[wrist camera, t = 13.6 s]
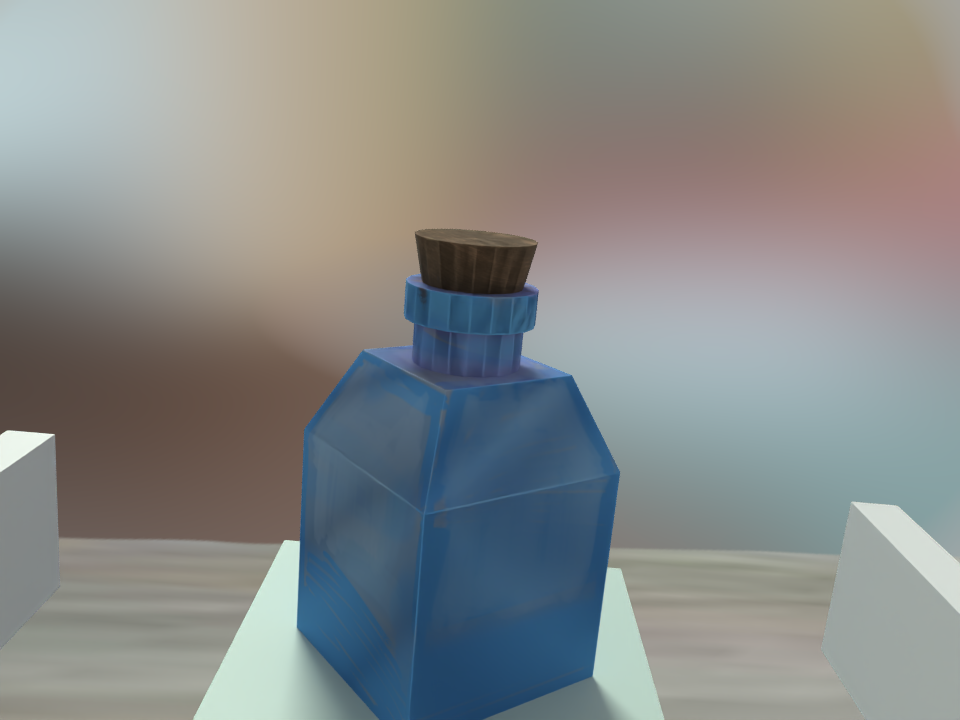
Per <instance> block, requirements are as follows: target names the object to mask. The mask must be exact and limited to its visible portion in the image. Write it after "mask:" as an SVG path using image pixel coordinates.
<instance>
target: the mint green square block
mask: <svg viewBox="0 0 960 720" xmlns="http://www.w3.org/2000/svg"><path fill="white" fill-rule="evenodd" d="M299 553H300V541H289V540H285V541H284V542H283V544H282V546H281V548H280V550H279V552H278V554H277V556H276V558H275V560H274V562H273V564H272V566H271V568H270V570H269V572H268V574H267V576H266V578H265V579H264V581H263V583H262V585H261V587H260V589H259V591H258V593H257V595H256V597H255V599H254V601H253V603H252V605H251V607H250V609H249V611H248V613H247V615H246V617H245V619H244V621H243V623H242V625H241V627H240V628H239V630H238V632H237V634H236V636H235V638H234V640H233V642H232V644H231V646H230V648H229V650H228V652H227V654H226V656H225V658H224V660H223V662H222V664H221V666H220V668H219V670H218V672H217V674H216V676H215V677H214V679H213V681H212V683H211V685H210V687H209V689H208V691H207V693H206V695H205V697H204V699H203V701H202V703H201V705H200V707H199V709H198V711H197V713H196V715H195V717H194V719H193V720H379V719H378V718H377V717H376V715H375V714H374V713H373V712H372V711H371V710H370V709H369V708H368V706H367V705H366V704H365V703H364V702H363V701H362V700H361V699H360V698H359V696H358V695H357V694H356V693H355V692H354V691H353V690H352V689H351V687H350V686H349V685H348V684H347V683H346V682H345V681H344V680H343V678H342V677H341V676H340V675H339V674H338V673H337V672H336V671H335V670H334V668H333V667H332V666H331V665H330V664H329V663H328V662H327V661H326V659H325V658H324V657H323V656H322V655H321V654H320V653H319V652H318V650H317V649H316V648H315V647H314V646H313V645H312V644H311V643H310V642H309V640H308V639H307V638H306V637H305V636H304V635H303V634H302V633H301V631H300V630H299V629H298V628H297V604H298V579H299ZM483 720H664V717H663V713H662V710H661V706H660V703H659V699H658V696H657V693H656V689H655V686H654V682H653V679H652V675H651V672H650V668H649V665H648V662H647V658H646V655H645V651H644V648H643V644H642V641H641V637H640V634H639V630H638V627H637V624H636V620H635V617H634V613H633V610H632V606H631V603H630V599H629V596H628V593H627V589H626V586H625V582H624V579H623V575H622V572H621V569H618V568H607V573H606V581H605V588H604V596H603V603H602V611H601V618H600V626H599V633H598V641H597V648H596V656H595V663H594V671H593V676H592V677H589V678H587V679H584V680H582V681H579V682H577V683H574V684H572V685H569V686H567V687H564V688H562V689H559V690H557V691H554V692H551V693H549V694H546V695H544V696H541V697H539V698H536V699H534V700H531V701H529V702H526V703H524V704H521V705H519V706H516V707H513V708H511V709H508V710H506V711H503V712H501V713H498V714H496V715H493V716H491V717H488V718H486V719H483Z"/></svg>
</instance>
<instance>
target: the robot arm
mask: <svg viewBox="0 0 960 720" xmlns="http://www.w3.org/2000/svg"><path fill="white" fill-rule="evenodd" d="M57 515H58V514H57V485H56V457H55V435H54V434H44V433H32V432H19V431H6V432H5V433H3V434H1V435H0V649H1V648H2V647H3V646H4V645H5V644H6V643H7V642H8V641H9V640H10V639H11V638H12V637H13V636H14V635H15V634H16V633H17V631H18V630H19V629H20V628H21V627H22V626H23V625H24V624H25V623H26V622H27V621H28V620H29V619H30V618H31V617H32V616H33V615H34V613H35V612H36V611H37V610H38V609H39V608H40V607H41V606H42V605H43V604H44V603H45V602H46V601H47V600H48V599H49V598H50V597H51V596H52V594H53V593H54V592H55V591H56V590H57V589H58V588H59V587H60V570H59V542H58V516H57ZM821 650H822V652H823V653H824V655H825V657H826V658H827V660H828V661H829V663H830V664H831V666H832V668H833V669H834V671H835V672H836V674H837V675H838V677H839V679H840V680H841V682H842V683H843V685H844V687H845V688H846V690H847V691H848V693H849V694H850V696H851V698H852V699H853V701H854V702H855V704H856V705H857V707H858V709H859V710H860V712H861V713H862V715H863V716H864V718H865V720H960V563H959V562H958V561H957V560H955V559H954V558H953V557H952V556H951V555H950V554H949V553H948V552H947V551H946V550H944V548H942V547H941V546H940V545H939V544H938V543H937V542H936V541H935V540H934V539H933V538H932V537H931V536H929V535H928V534H927V533H926V532H925V531H924V530H923V529H922V528H921V527H920V526H918V525H917V524H916V523H915V522H914V521H913V520H912V519H911V518H910V517H909V516H908V515H907V514H906V513H905V512H904V511H902V510H901V509H900V508H899V507H898V506H895V505H883V504H871V503H858V502H851V505H850V510H849V515H848V520H847V525H846V530H845V535H844V540H843V544H842V550H841V554H840V559H839V564H838V569H837V574H836V579H835V584H834V589H833V594H832V599H831V603H830V608H829V613H828V618H827V623H826V628H825V633H824V638H823V643H822V648H821Z"/></svg>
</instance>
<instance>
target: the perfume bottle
mask: <svg viewBox="0 0 960 720" xmlns="http://www.w3.org/2000/svg"><path fill="white" fill-rule="evenodd" d="M415 237H416V243H417V251H418V258H419V264H420V272H421V274H417V275H412V276H410V277H408V278H407V279H406V289H405V305H404V316H405V318H406V319H407V320H409V321H411V322H412V323H414V336H413V346H401V347H389V348H377V349H366V350H363V351H362V352H361V353H360V355H359V356H358V358H357V359H356V360H355V361H354V363H353V364H352V366H351V367H350V368H349V370H348V371H347V372H346V374H345V375H344V376H343V378H342V379H341V380H340V382H339V383H338V384H337V386H336V387H335V389H334V390H333V391H332V392H331V394H330V395H329V397H328V398H327V399H326V401H325V402H324V403H323V405H322V406H321V407H320V409H319V410H318V411H317V413H316V414H315V416H314V417H313V418H312V419H311V421H310V422H309V424H308V425H307V426H306V428H305V429H304V451H303V476H302V501H301V528H300V553H299V579H298V604H297V628H298V629H299V630H300V631H301V633H302V634H303V635H304V636H305V637H306V638H307V639H308V640H309V642H310V643H311V644H312V645H313V646H314V647H315V648H316V649H317V650H318V652H319V653H320V654H321V655H322V656H323V657H324V658H325V659H326V661H327V662H328V663H329V664H330V665H331V666H332V667H333V668H334V670H335V671H336V672H337V673H338V674H339V675H340V676H341V677H342V678H343V680H344V681H345V682H346V683H347V684H348V685H349V686H350V687H351V689H352V690H353V691H354V692H355V693H356V694H357V695H358V696H359V698H360V699H361V700H362V701H363V702H364V703H365V704H366V705H367V706H368V708H369V709H370V710H371V711H372V712H373V713H374V714H375V715H376V717H377V718H378V719H379V720H483V719H486V718H488V717H491V716H493V715H496V714H498V713H501V712H503V711H506V710H508V709H511V708H513V707H516V706H519V705H521V704H524V703H526V702H529V701H531V700H534V699H536V698H539V697H541V696H544V695H546V694H549V693H551V692H554V691H557V690H559V689H562V688H564V687H567V686H569V685H572V684H574V683H577V682H579V681H582V680H584V679H587V678H589V677H592V676H593V671H594V663H595V656H596V648H597V641H598V633H599V626H600V618H601V611H602V603H603V596H604V588H605V581H606V573H607V566H608V558H609V551H610V543H611V535H612V528H613V521H614V513H615V506H616V497H617V490H618V483H619V476H620V471H619V469H618V467H617V465H616V463H615V461H614V459H613V457H612V455H611V453H610V451H609V449H608V447H607V445H606V443H605V441H604V439H603V437H602V435H601V433H600V431H599V429H598V427H597V425H596V423H595V421H594V419H593V417H592V415H591V413H590V411H589V409H588V407H587V405H586V403H585V401H584V399H583V397H582V395H581V393H580V391H579V389H578V387H577V385H576V383H575V381H574V379H573V377H572V375H570V374H567V373H565V372H562V371H560V370H557V369H555V368H552V367H549V366H547V365H545V364H542V363H539V362H537V361H534V360H532V359H529V358H527V357H524V356H522V355H521V350H522V340H523V333H524V332H527V331H530V330H532V329H533V328H534V326H535V320H536V311H537V301H538V291H539V290H538V289H537V288H536V287H534V286H533V285H530V284H527V283H525V282H526V279H527V275H528V273H529V269H530V266H531V263H532V260H533V257H534V254H535V251H536V247H537V244H538V242H536V241H535V240H532V239H528V238H525V237H520V236H515V235H509V234H502V233H495V232H486V231H476V230H461V229H425V230H419V231H416V232H415Z"/></svg>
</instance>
